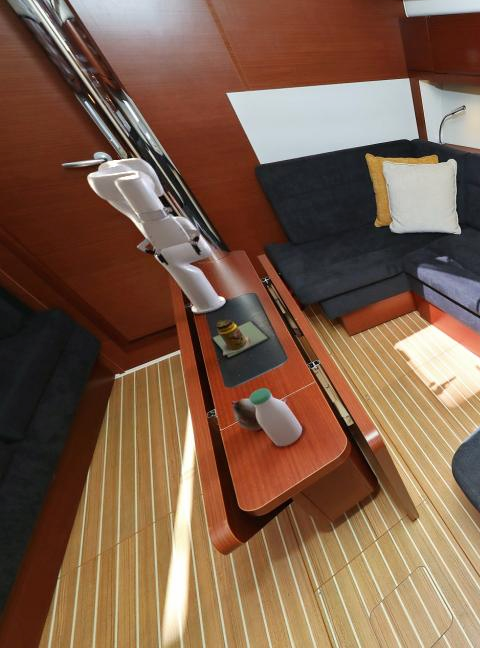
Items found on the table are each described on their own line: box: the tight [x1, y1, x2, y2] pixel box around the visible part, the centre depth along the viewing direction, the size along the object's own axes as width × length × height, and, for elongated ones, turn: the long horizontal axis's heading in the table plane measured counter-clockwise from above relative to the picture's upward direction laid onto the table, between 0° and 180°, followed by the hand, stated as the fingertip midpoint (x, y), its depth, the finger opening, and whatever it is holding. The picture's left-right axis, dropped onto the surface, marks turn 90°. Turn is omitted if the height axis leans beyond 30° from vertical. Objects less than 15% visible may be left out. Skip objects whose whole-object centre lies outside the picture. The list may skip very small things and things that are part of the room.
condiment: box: [215, 318, 249, 356], centre depth 127 cm, size 7×8×12 cm
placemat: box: [212, 320, 269, 359], centre depth 135 cm, size 18×14×1 cm
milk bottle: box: [249, 387, 303, 447], centre depth 94 cm, size 8×8×20 cm
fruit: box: [230, 398, 263, 432], centre depth 100 cm, size 10×9×12 cm
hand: (183, 258), depth 122 cm, fingers open, 9 cm apart
